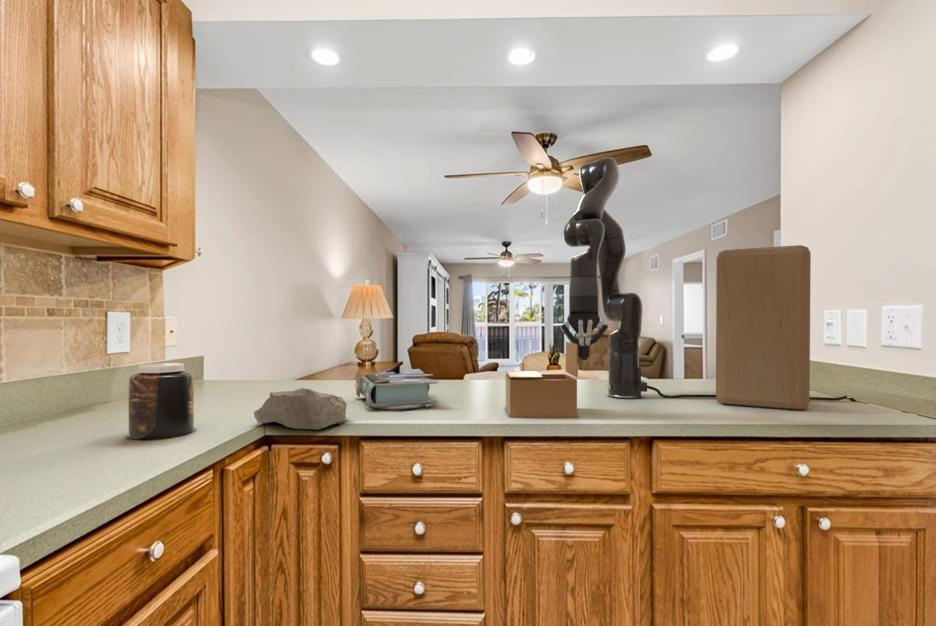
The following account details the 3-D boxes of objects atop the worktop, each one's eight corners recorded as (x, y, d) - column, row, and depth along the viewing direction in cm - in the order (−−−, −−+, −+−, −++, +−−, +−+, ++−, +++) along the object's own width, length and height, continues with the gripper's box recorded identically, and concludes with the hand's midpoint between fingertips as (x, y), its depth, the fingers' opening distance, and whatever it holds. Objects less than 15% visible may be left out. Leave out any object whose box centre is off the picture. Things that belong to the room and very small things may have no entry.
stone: (239, 431, 108) (321, 434, 104) (238, 388, 108) (320, 389, 104) (285, 415, 126) (356, 417, 122) (284, 378, 126) (356, 379, 122)
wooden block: (810, 412, 129) (811, 243, 128) (715, 405, 140) (716, 249, 140) (801, 400, 148) (802, 253, 148) (718, 394, 160) (719, 258, 159)
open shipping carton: (566, 407, 136) (566, 371, 136) (576, 417, 123) (577, 376, 123) (505, 407, 136) (505, 371, 136) (510, 417, 123) (510, 376, 123)
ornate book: (353, 400, 154) (366, 413, 126) (353, 369, 155) (366, 376, 126) (422, 396, 162) (449, 408, 134) (421, 367, 162) (448, 373, 134)
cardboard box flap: (565, 371, 136) (566, 371, 136) (576, 377, 123) (577, 377, 123) (565, 341, 136) (567, 341, 136) (576, 344, 123) (578, 344, 123)
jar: (165, 441, 99) (164, 367, 98) (115, 438, 101) (114, 366, 100) (205, 428, 110) (204, 362, 110) (159, 426, 112) (159, 362, 112)
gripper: (604, 295, 133) (604, 358, 133) (556, 295, 133) (555, 358, 133) (612, 294, 125) (612, 360, 125) (561, 293, 125) (561, 360, 125)
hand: (583, 359), depth 129 cm, fingers closed
